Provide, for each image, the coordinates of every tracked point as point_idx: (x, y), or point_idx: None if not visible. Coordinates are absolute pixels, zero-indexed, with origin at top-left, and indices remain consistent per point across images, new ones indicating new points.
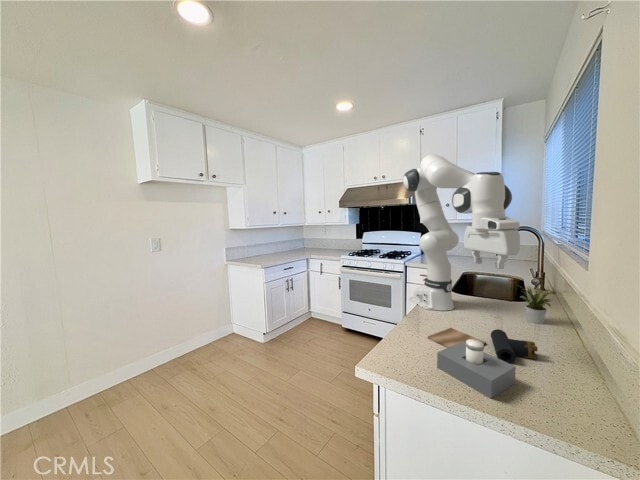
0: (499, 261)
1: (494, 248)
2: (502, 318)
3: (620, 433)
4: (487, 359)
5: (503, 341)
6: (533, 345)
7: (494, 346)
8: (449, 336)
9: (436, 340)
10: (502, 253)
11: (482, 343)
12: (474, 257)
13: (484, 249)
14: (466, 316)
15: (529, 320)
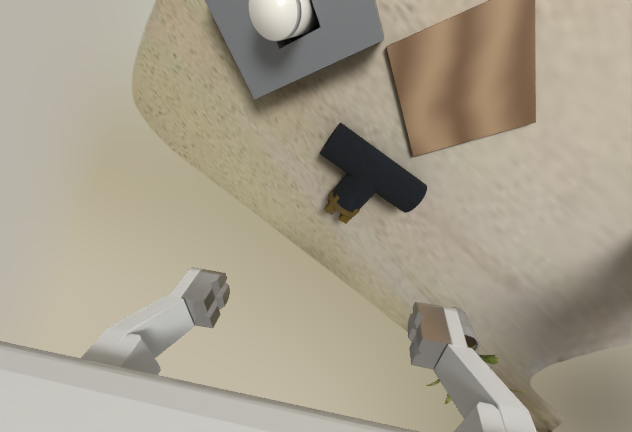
0: (147, 306)
1: (55, 427)
2: (499, 284)
3: (172, 140)
4: (284, 51)
5: (359, 167)
6: (333, 210)
7: (373, 147)
8: (488, 75)
9: (488, 2)
10: (3, 356)
11: (269, 37)
12: (465, 353)
13: (243, 429)
14: (571, 227)
15: (456, 309)
